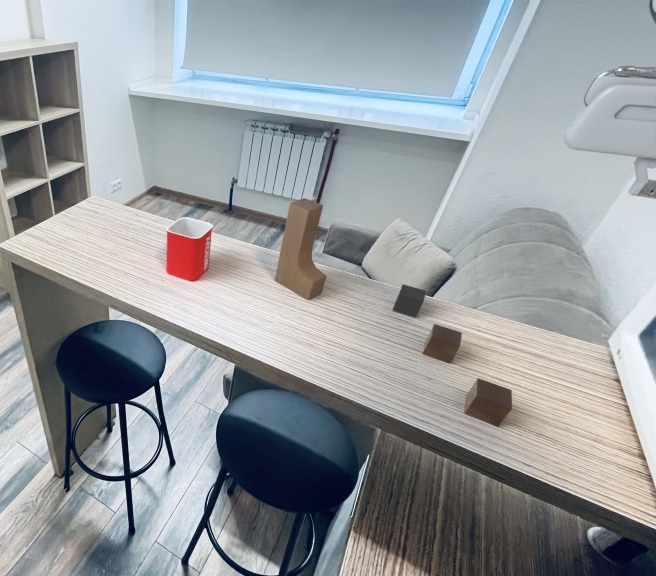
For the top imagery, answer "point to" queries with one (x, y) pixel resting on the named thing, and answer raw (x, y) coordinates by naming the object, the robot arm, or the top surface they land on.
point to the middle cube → (442, 343)
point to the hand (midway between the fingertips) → (645, 196)
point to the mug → (188, 248)
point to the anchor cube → (409, 300)
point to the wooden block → (300, 250)
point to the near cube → (488, 402)
